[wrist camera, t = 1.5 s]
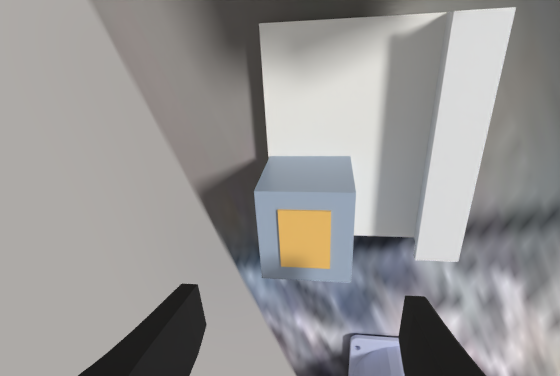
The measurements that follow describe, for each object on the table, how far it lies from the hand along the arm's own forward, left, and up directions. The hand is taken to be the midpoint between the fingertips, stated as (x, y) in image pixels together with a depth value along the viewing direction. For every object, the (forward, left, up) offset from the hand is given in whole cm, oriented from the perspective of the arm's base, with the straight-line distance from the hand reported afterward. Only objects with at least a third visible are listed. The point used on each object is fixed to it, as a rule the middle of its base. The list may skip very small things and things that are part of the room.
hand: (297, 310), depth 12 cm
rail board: (+3, -3, -10) cm, 11 cm away
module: (0, 0, -9) cm, 9 cm away
